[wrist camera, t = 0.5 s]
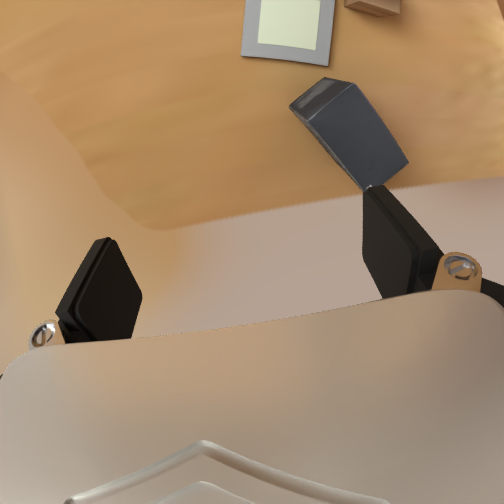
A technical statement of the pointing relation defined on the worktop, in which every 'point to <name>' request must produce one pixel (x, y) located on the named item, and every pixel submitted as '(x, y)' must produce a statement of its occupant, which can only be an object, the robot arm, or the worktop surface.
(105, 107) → the worktop surface
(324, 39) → the grey square plate
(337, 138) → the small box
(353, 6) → the walnut cube
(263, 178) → the worktop surface
